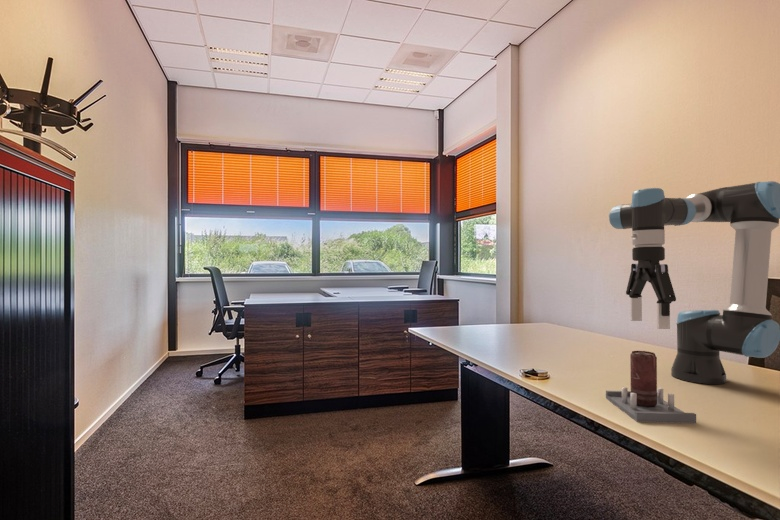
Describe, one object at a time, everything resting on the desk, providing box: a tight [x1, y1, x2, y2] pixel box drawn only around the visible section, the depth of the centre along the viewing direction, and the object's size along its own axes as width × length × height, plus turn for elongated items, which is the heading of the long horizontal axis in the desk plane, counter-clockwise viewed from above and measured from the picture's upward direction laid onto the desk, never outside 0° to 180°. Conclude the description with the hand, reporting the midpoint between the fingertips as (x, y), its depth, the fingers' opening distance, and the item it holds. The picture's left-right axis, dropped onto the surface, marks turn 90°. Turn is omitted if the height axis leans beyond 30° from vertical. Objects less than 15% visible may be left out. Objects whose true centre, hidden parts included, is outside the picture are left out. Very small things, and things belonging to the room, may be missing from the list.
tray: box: [605, 386, 697, 424], centre depth 113 cm, size 14×18×5 cm
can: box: [629, 350, 658, 407], centre depth 115 cm, size 6×6×14 cm
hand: (649, 324), depth 115 cm, fingers open, 13 cm apart
